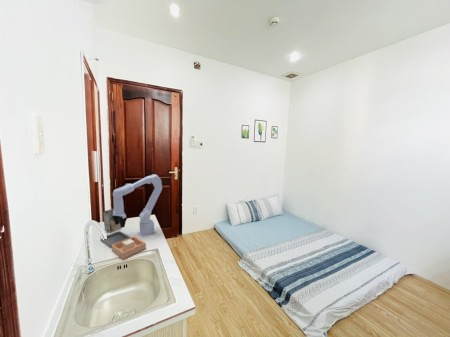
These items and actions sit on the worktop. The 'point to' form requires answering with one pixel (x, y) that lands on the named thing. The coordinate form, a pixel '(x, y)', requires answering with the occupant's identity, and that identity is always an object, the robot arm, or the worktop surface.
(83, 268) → the worktop surface
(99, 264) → the worktop surface
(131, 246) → the stone block
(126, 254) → the bin
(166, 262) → the worktop surface
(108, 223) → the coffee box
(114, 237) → the tray
